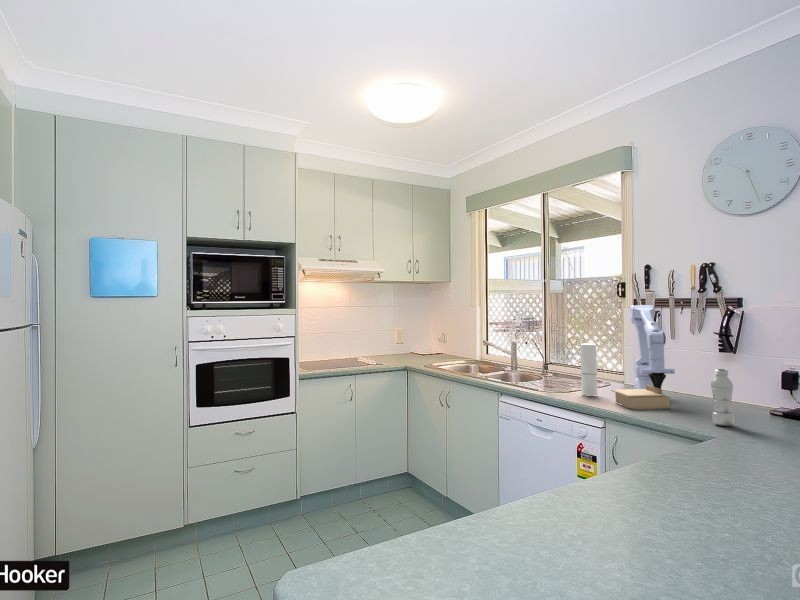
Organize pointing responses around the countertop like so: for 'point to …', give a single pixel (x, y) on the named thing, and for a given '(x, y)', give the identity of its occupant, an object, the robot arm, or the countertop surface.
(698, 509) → the countertop surface
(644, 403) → the mailer box
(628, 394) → the lid
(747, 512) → the countertop surface
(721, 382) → the plastic bottle
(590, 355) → the cylindrical container
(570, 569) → the countertop surface
